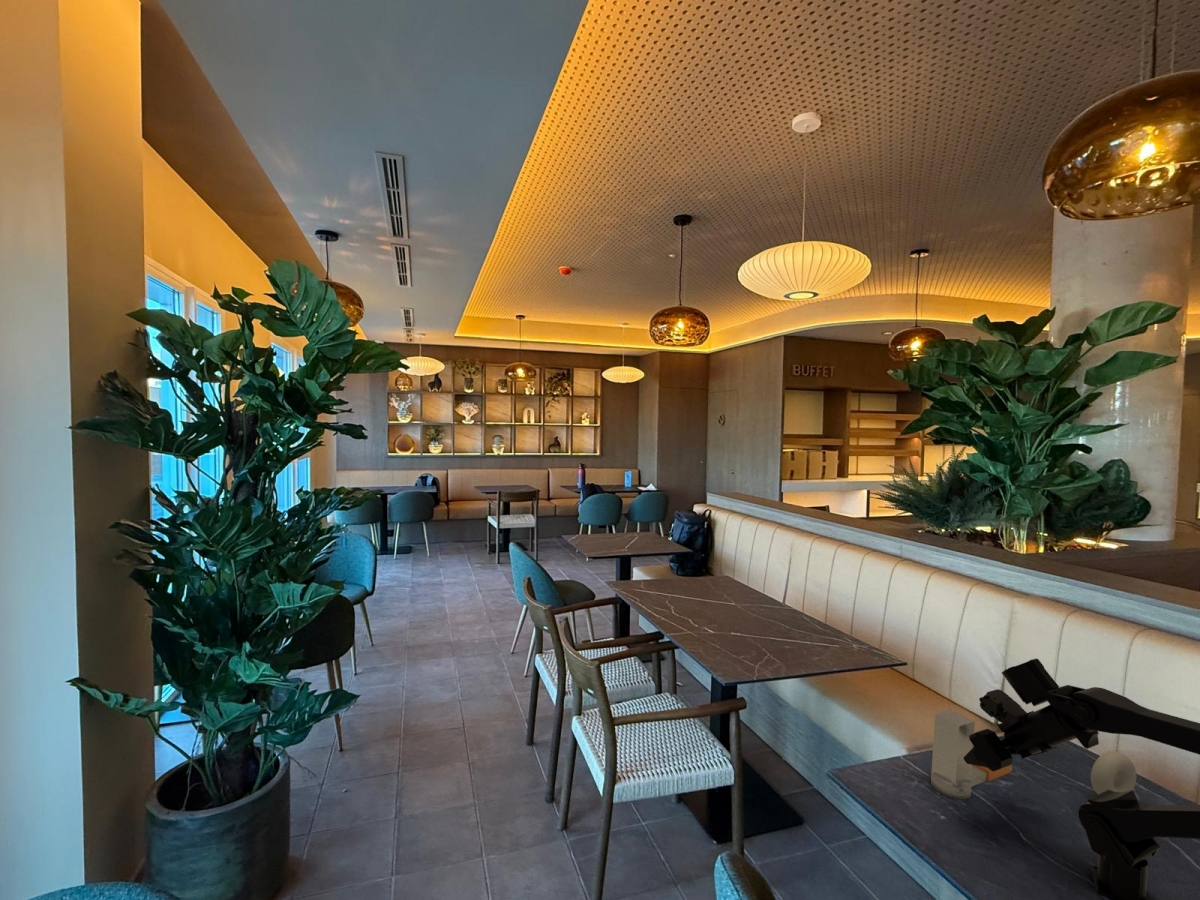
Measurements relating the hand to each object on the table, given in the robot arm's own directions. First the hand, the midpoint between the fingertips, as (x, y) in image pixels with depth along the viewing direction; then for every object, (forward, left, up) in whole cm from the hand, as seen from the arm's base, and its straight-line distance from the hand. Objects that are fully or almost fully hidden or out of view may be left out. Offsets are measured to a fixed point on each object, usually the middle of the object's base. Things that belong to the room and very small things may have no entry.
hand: (979, 755), depth 108 cm
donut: (+19, -22, -10) cm, 31 cm away
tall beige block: (+3, +5, -7) cm, 9 cm away
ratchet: (+9, +1, -10) cm, 14 cm away
